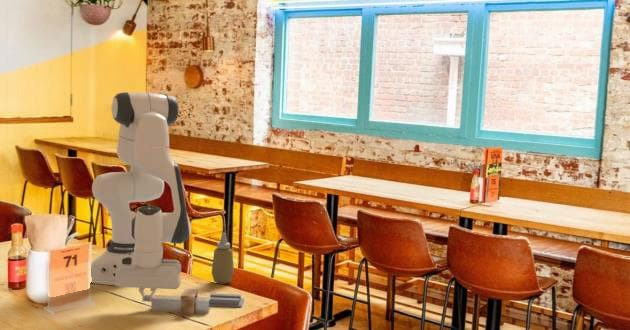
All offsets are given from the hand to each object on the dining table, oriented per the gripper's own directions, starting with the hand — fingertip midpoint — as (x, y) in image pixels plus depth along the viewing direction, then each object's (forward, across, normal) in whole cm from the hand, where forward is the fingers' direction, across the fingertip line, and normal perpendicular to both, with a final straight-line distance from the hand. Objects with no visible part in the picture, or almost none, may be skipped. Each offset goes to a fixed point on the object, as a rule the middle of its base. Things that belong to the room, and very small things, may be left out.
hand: (147, 301), depth 235 cm
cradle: (+3, -23, -10) cm, 25 cm away
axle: (+3, -10, -1) cm, 11 cm away
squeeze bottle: (+3, -19, -35) cm, 40 cm away
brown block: (+3, -13, 0) cm, 13 cm away
